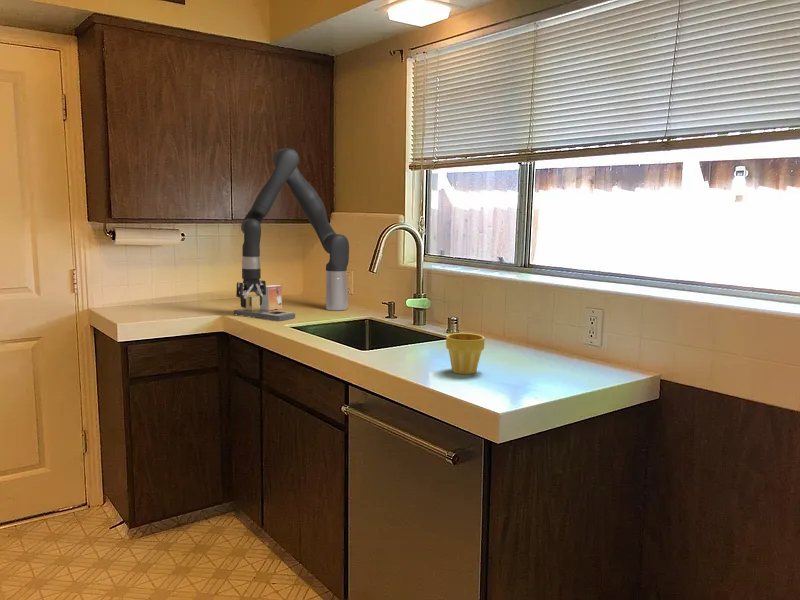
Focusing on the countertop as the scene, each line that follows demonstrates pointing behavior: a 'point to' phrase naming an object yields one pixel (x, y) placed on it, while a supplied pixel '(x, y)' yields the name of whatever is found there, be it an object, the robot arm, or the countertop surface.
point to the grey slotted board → (267, 314)
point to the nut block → (252, 303)
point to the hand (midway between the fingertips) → (251, 306)
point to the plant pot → (464, 351)
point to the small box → (272, 298)
